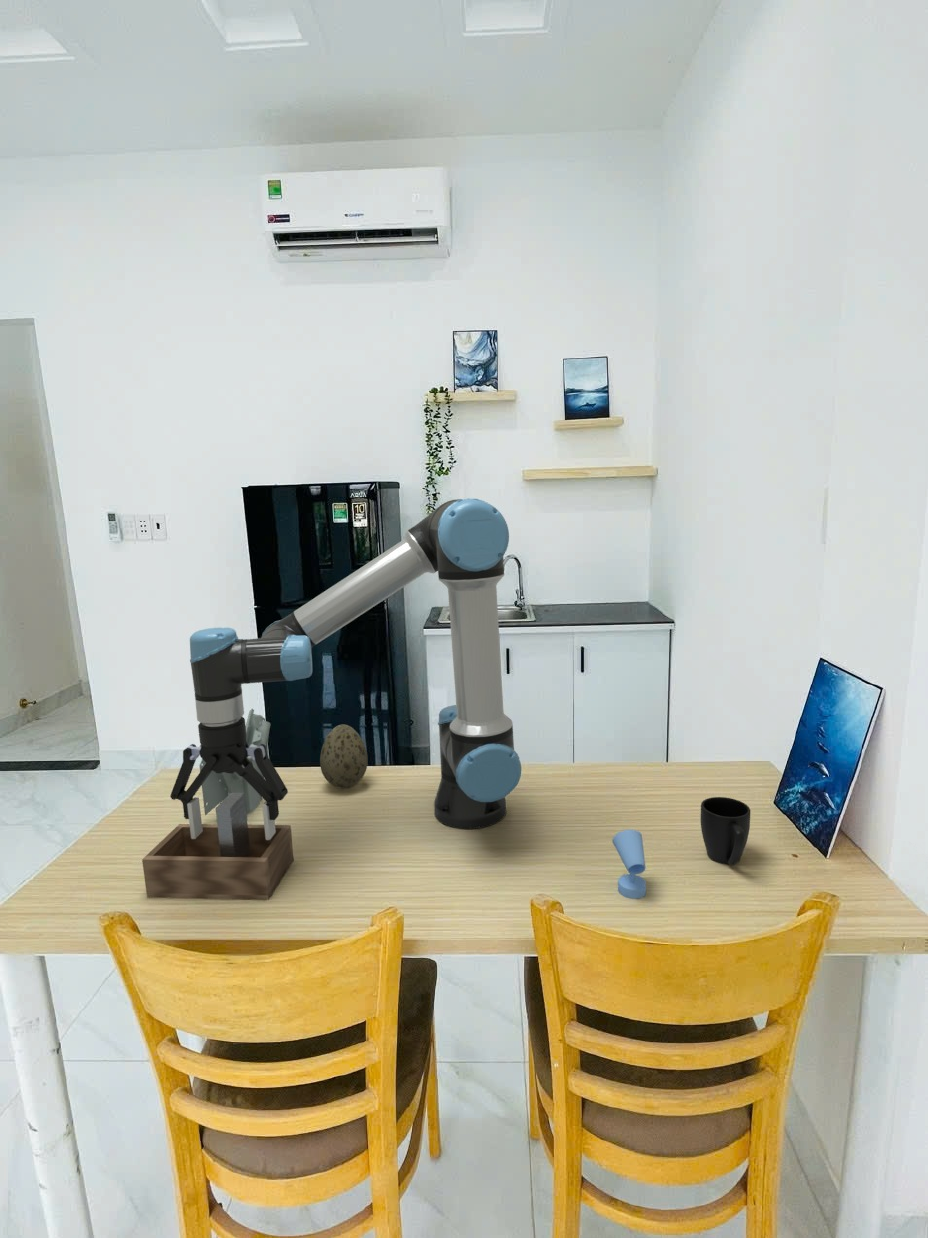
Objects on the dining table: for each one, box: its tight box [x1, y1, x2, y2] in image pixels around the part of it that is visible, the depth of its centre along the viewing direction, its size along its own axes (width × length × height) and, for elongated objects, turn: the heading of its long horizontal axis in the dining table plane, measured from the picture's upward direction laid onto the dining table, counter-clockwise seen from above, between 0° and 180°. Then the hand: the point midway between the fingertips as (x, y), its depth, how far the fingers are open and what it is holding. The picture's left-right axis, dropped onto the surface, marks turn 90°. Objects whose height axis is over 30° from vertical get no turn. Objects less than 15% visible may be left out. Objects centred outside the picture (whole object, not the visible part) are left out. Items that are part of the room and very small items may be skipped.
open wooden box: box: [141, 823, 295, 901], centre depth 118 cm, size 21×12×7 cm, turn 85°
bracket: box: [199, 708, 271, 816], centre depth 144 cm, size 28×7×20 cm, turn 170°
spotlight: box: [612, 829, 647, 900], centre depth 110 cm, size 5×10×7 cm
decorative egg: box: [319, 723, 369, 790], centre depth 153 cm, size 11×11×15 cm
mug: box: [700, 796, 752, 866], centre depth 117 cm, size 8×12×10 cm
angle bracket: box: [215, 793, 251, 857], centre depth 117 cm, size 8×6×14 cm
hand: (233, 835), depth 117 cm, fingers open, 13 cm apart
